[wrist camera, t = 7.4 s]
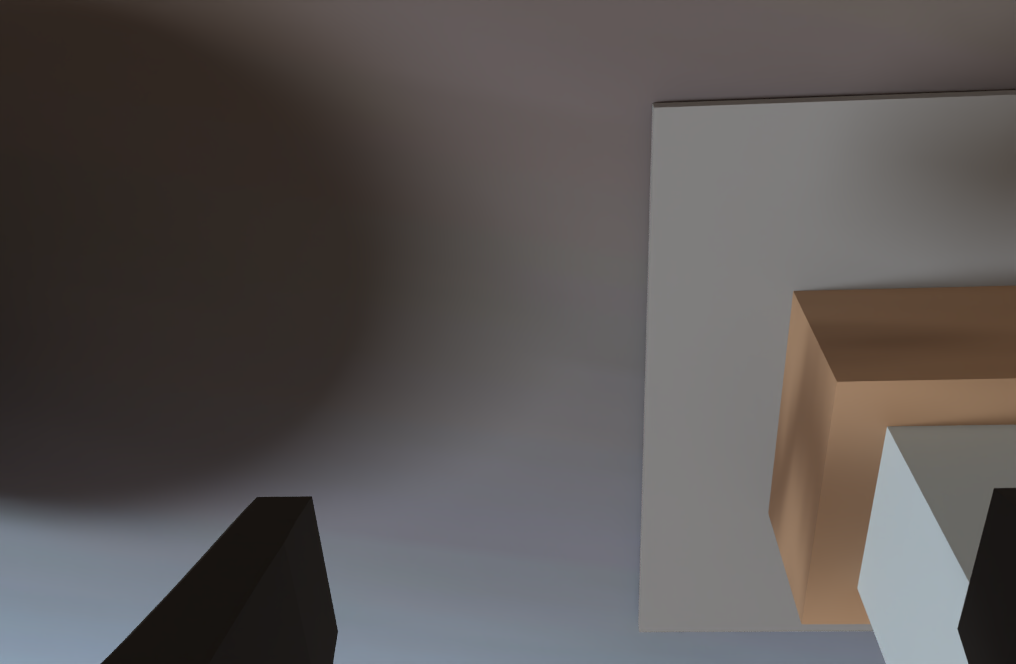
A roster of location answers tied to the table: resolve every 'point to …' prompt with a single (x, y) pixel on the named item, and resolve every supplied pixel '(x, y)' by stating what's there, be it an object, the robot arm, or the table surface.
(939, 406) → the walnut block
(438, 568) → the table surface
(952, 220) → the mat
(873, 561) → the pale grey small block
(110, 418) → the table surface
